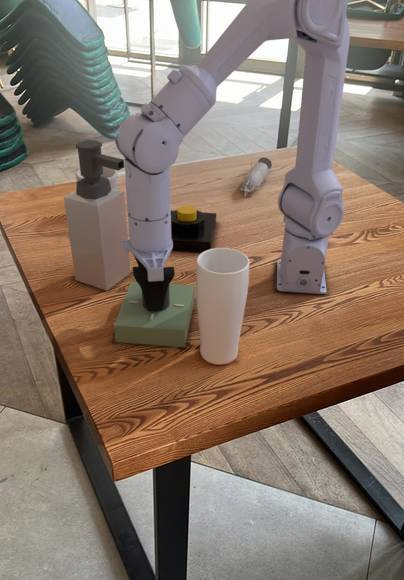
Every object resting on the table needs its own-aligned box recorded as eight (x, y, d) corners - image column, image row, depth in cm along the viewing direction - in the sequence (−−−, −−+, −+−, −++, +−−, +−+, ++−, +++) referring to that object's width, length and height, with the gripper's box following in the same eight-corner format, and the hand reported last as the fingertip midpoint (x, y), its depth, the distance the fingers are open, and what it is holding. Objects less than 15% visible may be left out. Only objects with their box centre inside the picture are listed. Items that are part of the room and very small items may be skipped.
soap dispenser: (118, 295, 92) (105, 158, 78) (75, 279, 95) (56, 146, 81) (141, 277, 96) (133, 144, 82) (100, 263, 99) (85, 133, 86)
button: (195, 223, 104) (195, 214, 103) (175, 222, 104) (175, 213, 103) (197, 214, 107) (197, 205, 106) (178, 213, 107) (178, 204, 106)
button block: (210, 253, 103) (210, 232, 100) (155, 249, 104) (154, 229, 101) (216, 223, 112) (216, 204, 110) (165, 220, 113) (165, 201, 110)
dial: (165, 294, 86) (164, 269, 84) (173, 308, 84) (172, 283, 81) (139, 298, 85) (138, 273, 83) (146, 313, 82) (144, 288, 80)
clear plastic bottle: (255, 168, 135) (257, 140, 131) (275, 171, 134) (277, 143, 130) (233, 198, 122) (235, 167, 118) (255, 201, 121) (257, 170, 117)
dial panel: (184, 347, 81) (184, 329, 79) (115, 342, 82) (113, 324, 80) (194, 301, 91) (194, 284, 89) (132, 296, 91) (131, 279, 89)
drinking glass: (240, 339, 83) (247, 246, 74) (245, 369, 78) (253, 274, 68) (194, 340, 83) (195, 247, 73) (195, 370, 78) (196, 274, 68)
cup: (128, 222, 112) (126, 183, 107) (88, 228, 110) (84, 188, 105) (114, 200, 120) (111, 163, 115) (76, 206, 117) (71, 167, 112)
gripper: (116, 191, 81) (123, 275, 90) (121, 239, 70) (128, 329, 78) (166, 189, 82) (168, 272, 91) (178, 235, 71) (179, 325, 79)
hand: (153, 298), depth 85 cm, fingers open, 5 cm apart
